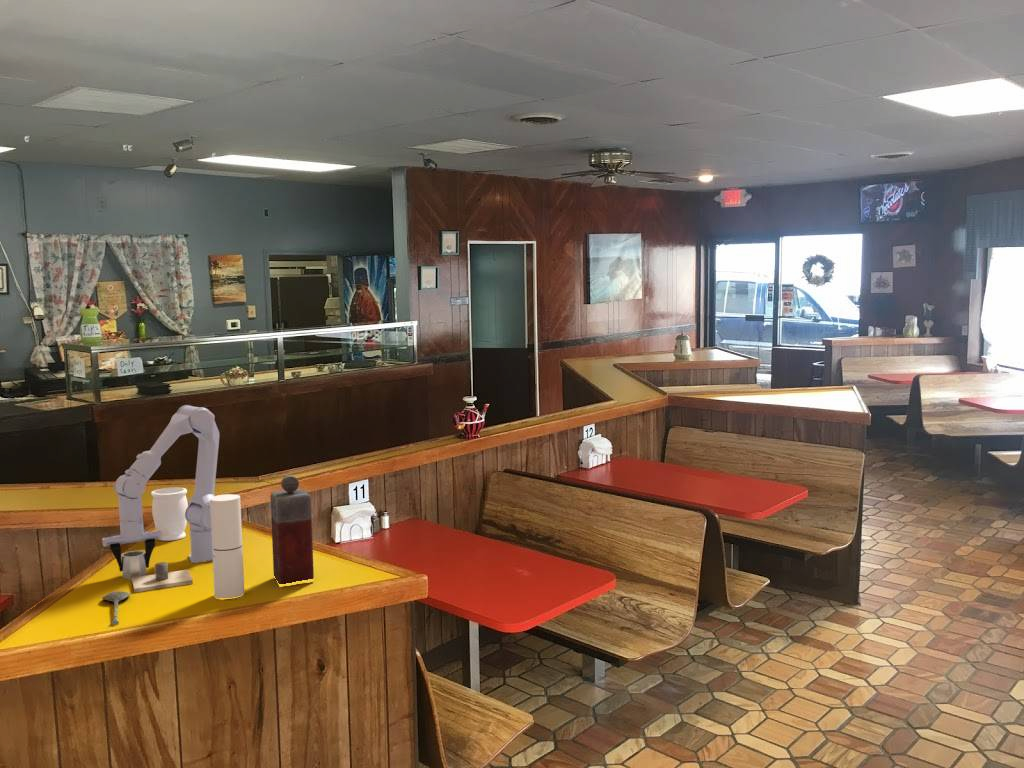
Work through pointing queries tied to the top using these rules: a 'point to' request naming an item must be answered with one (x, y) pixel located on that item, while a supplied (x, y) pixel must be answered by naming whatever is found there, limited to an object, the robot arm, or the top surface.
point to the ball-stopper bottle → (291, 533)
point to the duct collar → (133, 564)
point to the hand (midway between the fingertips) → (134, 568)
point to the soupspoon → (116, 602)
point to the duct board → (161, 584)
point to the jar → (170, 512)
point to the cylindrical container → (227, 546)
